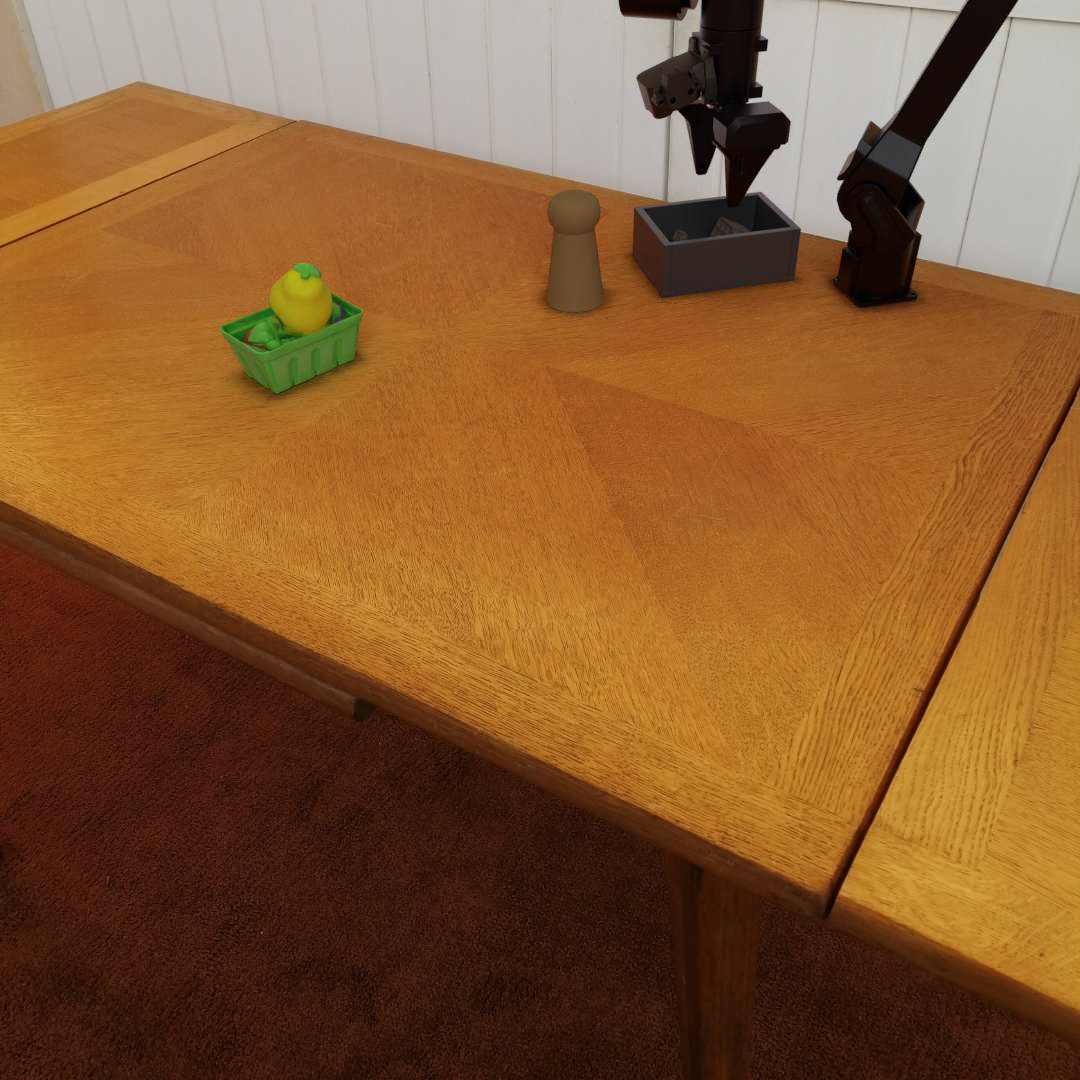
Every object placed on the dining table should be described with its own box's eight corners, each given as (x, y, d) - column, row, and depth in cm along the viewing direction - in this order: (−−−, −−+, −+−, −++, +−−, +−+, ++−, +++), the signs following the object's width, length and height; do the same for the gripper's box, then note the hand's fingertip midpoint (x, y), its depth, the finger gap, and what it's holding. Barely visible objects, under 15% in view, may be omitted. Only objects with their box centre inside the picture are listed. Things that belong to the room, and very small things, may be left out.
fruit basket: (327, 332, 100) (307, 222, 92) (382, 363, 95) (365, 249, 88) (228, 376, 94) (197, 262, 87) (280, 411, 89) (253, 293, 82)
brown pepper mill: (599, 314, 101) (599, 207, 94) (540, 310, 102) (536, 204, 95) (608, 287, 105) (609, 183, 98) (551, 283, 107) (549, 181, 99)
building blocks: (756, 236, 106) (696, 213, 102) (730, 283, 109) (671, 261, 105) (742, 225, 108) (683, 201, 104) (717, 271, 111) (659, 249, 107)
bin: (755, 240, 113) (761, 191, 110) (794, 279, 105) (801, 228, 102) (632, 255, 111) (633, 206, 108) (662, 297, 103) (664, 245, 100)
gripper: (619, 8, 99) (615, 167, 109) (680, 58, 85) (670, 234, 95) (726, -1, 100) (713, 156, 110) (803, 46, 86) (780, 221, 96)
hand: (716, 190), depth 103 cm, fingers open, 9 cm apart
